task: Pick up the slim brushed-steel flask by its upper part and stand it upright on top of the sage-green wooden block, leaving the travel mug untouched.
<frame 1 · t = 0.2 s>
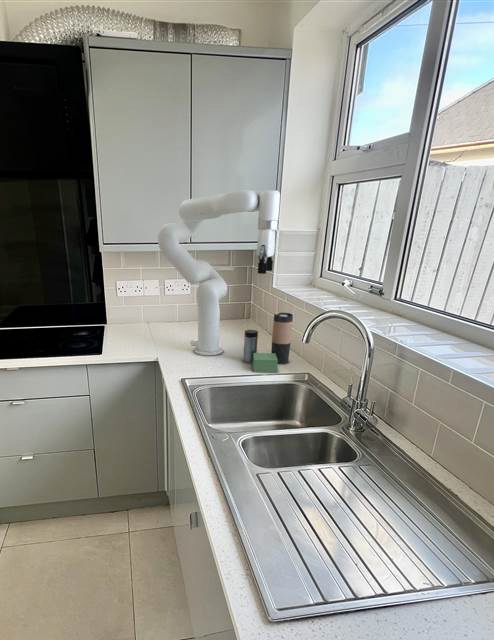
hand: (265, 272, 161), 36 cm above the countertop, tool pointing down, fingers open, 9 cm apart
green block: (264, 368, 164), on the countertop
travel mug: (279, 361, 172), on the countertop
steel flask: (249, 361, 172), on the countertop
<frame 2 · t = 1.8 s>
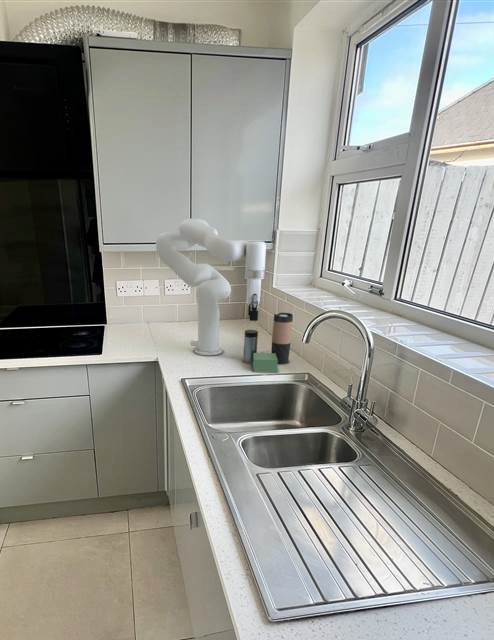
hand: (252, 317, 165), 19 cm above the countertop, tool pointing down, fingers open, 9 cm apart
nothing on the countertop moved.
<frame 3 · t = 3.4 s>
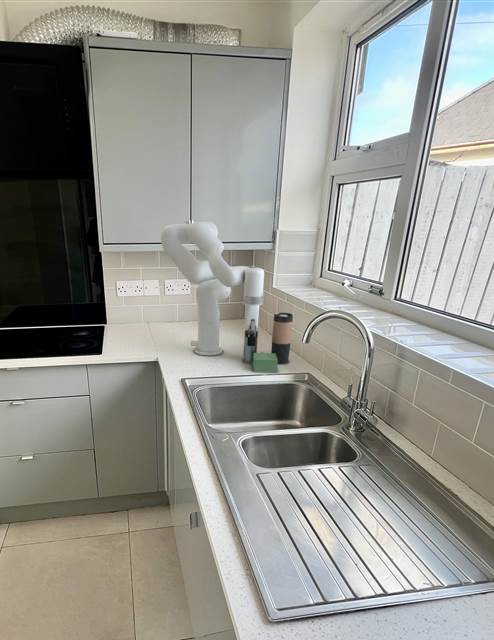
hand: (250, 343, 169), 8 cm above the countertop, tool pointing down, fingers closed on steel flask, 5 cm apart
steel flask: (249, 361, 172), on the countertop, touching gripper
everything else where it was.
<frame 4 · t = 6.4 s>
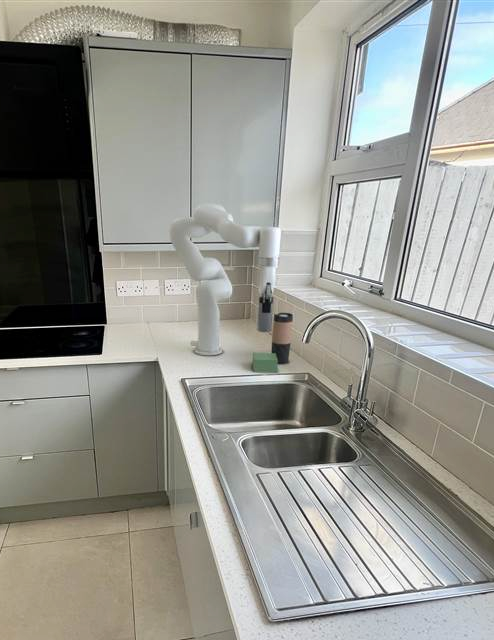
hand: (265, 310, 156), 23 cm above the countertop, tool pointing down, fingers closed on steel flask, 5 cm apart
steel flask: (264, 330, 159), point 15 cm above the countertop, touching gripper
everything else where it was.
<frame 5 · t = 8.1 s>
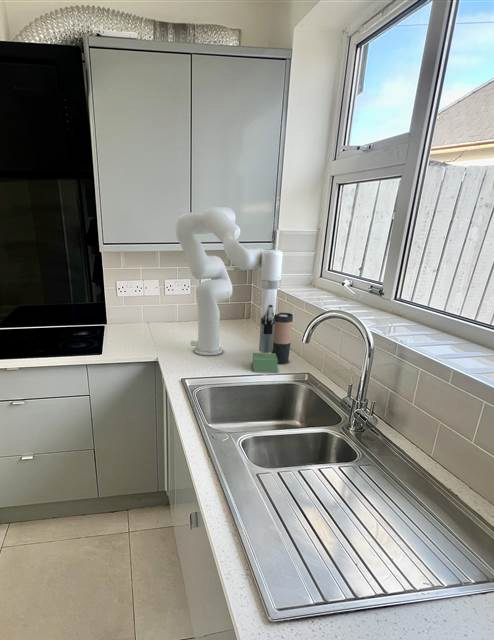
hand: (267, 331, 158), 15 cm above the countertop, tool pointing down, fingers closed on steel flask, 5 cm apart
steel flask: (265, 350, 161), point 7 cm above the countertop, touching gripper
everything else where it was.
when the fingers open (13 cm above the countertop, at t = 9.2 s): steel flask stays where it is, resting on green block.
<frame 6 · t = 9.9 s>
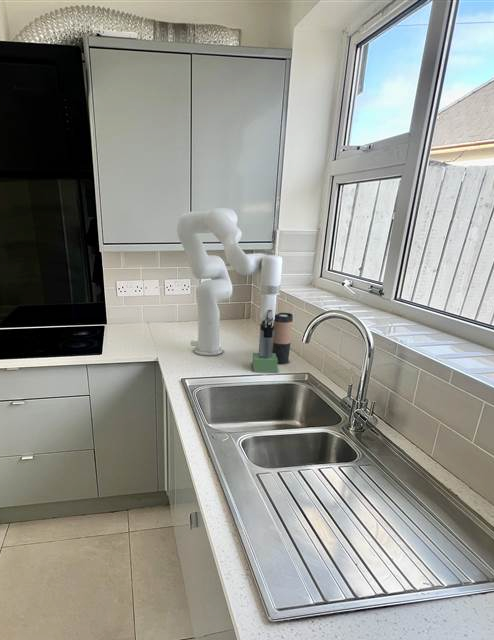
hand: (266, 334, 158), 14 cm above the countertop, tool pointing down, fingers open, 9 cm apart
steel flask: (265, 356, 162), point 5 cm above the countertop, touching green block
everything else where it was.
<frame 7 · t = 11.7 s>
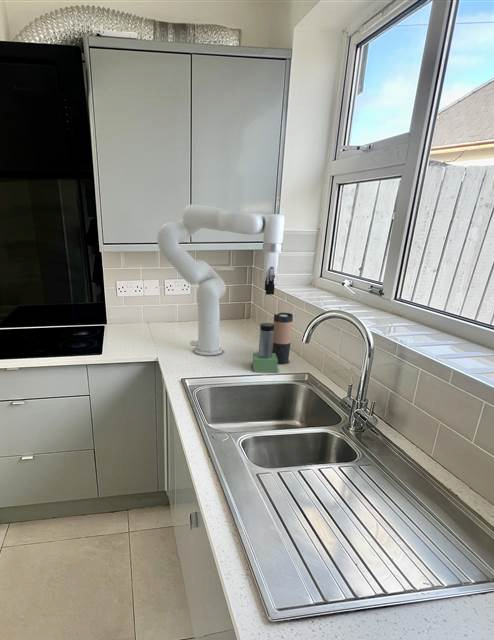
hand: (269, 292, 165), 28 cm above the countertop, tool pointing down, fingers open, 9 cm apart
nothing on the countertop moved.
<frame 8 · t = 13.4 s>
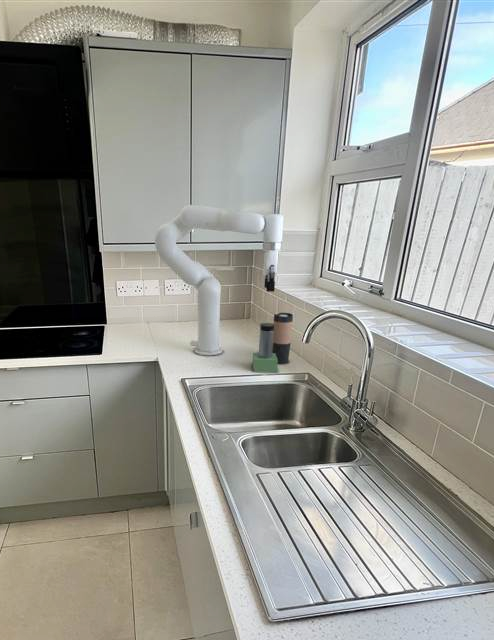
hand: (269, 289, 171), 28 cm above the countertop, tool pointing down, fingers open, 9 cm apart
nothing on the countertop moved.
at the end: steel flask 0.0 cm off-centre on the green block, point 5.0 cm above the green block's base; steel flask tilted 0°; the gripper is holding nothing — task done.
